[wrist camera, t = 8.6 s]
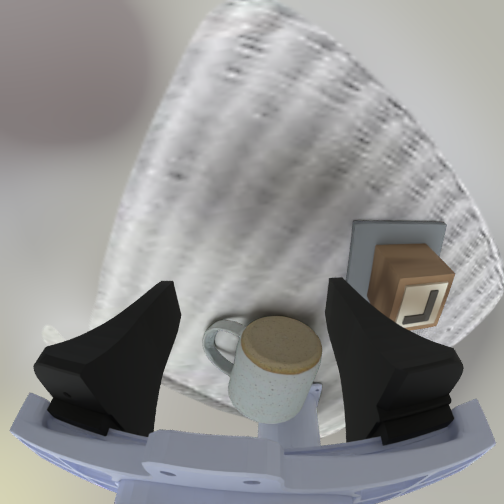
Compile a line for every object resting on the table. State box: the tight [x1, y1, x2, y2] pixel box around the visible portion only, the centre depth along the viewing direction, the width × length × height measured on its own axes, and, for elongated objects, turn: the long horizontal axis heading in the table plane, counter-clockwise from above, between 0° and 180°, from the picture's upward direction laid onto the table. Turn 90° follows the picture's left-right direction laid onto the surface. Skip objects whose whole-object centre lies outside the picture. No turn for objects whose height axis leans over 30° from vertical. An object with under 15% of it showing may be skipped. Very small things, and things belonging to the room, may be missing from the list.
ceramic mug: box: [203, 316, 322, 424], centre depth 23 cm, size 11×8×8 cm
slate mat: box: [346, 221, 447, 303], centre depth 22 cm, size 9×9×1 cm
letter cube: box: [367, 243, 455, 331], centre depth 19 cm, size 5×5×5 cm
